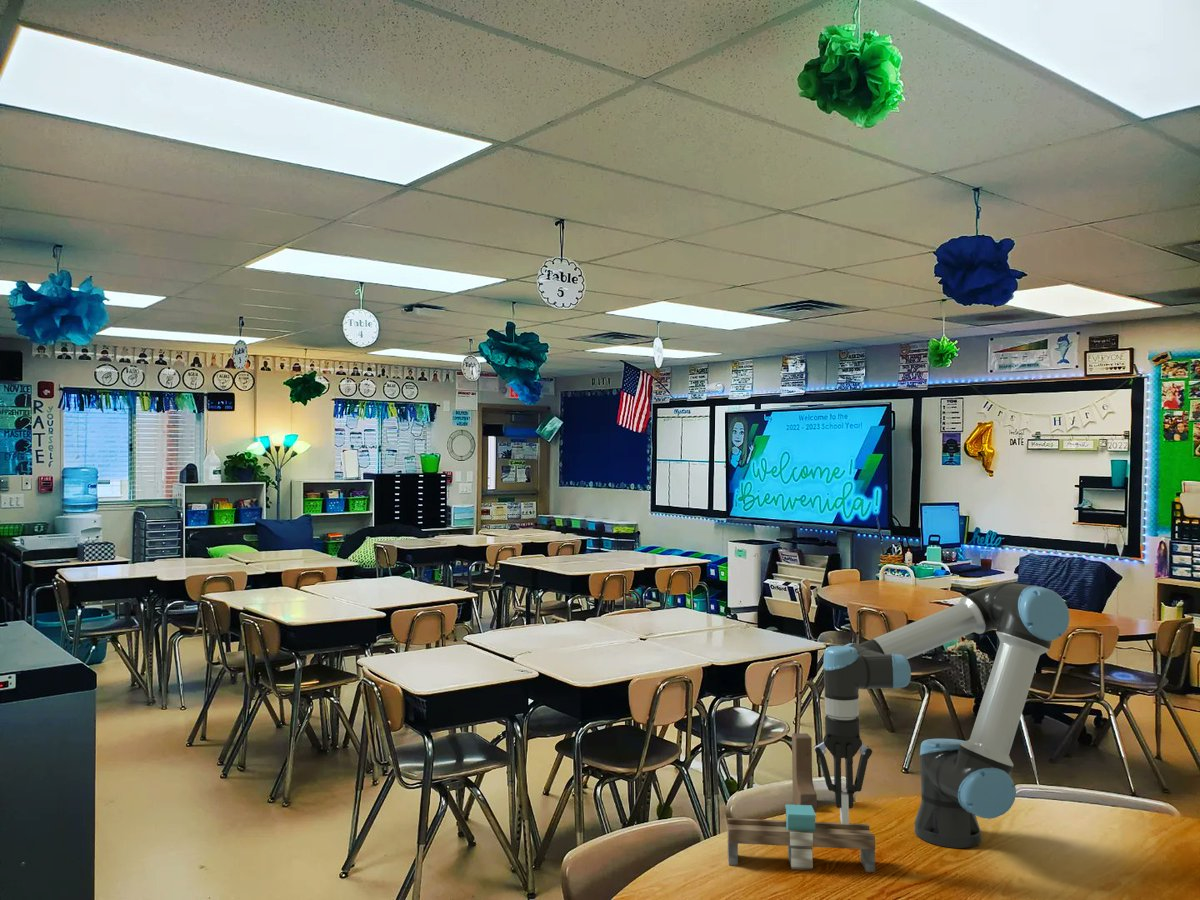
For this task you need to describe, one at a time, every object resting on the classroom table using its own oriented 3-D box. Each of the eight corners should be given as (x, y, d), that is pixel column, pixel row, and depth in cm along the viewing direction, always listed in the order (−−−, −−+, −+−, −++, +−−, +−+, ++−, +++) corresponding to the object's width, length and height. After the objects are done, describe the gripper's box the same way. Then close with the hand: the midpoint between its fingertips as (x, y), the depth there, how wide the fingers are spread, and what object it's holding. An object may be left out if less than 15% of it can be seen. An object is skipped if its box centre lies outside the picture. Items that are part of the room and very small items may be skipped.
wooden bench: (868, 859, 193) (868, 823, 194) (875, 873, 186) (875, 836, 187) (727, 853, 197) (727, 817, 197) (729, 866, 190) (728, 829, 190)
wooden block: (817, 811, 224) (816, 742, 225) (800, 811, 224) (799, 742, 225) (808, 799, 233) (807, 733, 234) (792, 799, 233) (791, 733, 234)
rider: (812, 825, 195) (811, 805, 195) (816, 836, 188) (815, 815, 189) (785, 824, 195) (785, 804, 196) (788, 835, 189) (788, 814, 189)
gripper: (867, 712, 196) (870, 817, 194) (810, 711, 197) (812, 815, 196) (874, 720, 188) (877, 829, 187) (815, 719, 190) (817, 827, 188)
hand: (844, 822), depth 191 cm, fingers closed
